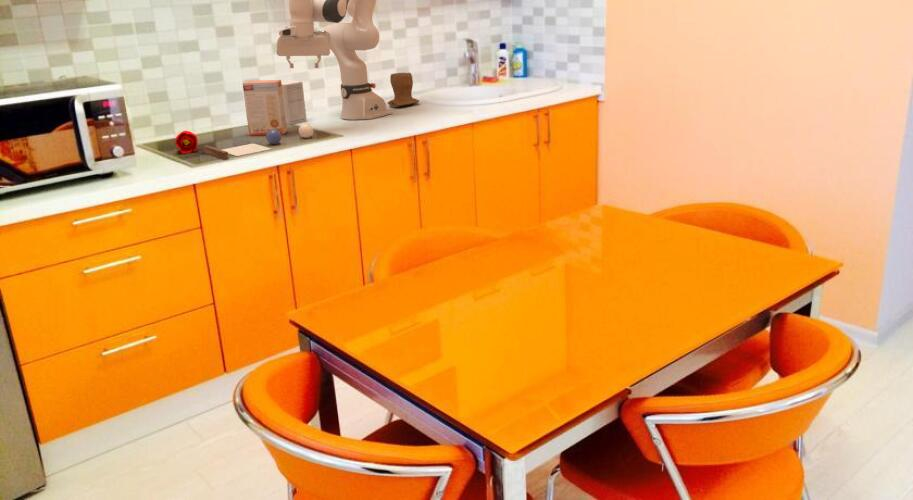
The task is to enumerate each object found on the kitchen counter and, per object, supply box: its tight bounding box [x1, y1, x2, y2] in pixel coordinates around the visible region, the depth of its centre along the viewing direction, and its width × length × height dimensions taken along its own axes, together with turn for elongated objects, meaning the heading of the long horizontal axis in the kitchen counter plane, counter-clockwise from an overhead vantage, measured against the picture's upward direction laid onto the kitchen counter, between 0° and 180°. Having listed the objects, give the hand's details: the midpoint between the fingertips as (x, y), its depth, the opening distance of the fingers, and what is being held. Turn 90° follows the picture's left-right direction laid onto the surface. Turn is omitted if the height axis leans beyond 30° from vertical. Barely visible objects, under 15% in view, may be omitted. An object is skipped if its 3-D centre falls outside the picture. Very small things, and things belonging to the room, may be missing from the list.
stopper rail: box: [203, 145, 230, 161], centre depth 291 cm, size 2×16×2 cm, turn 41°
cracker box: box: [242, 79, 288, 136], centre depth 320 cm, size 14×6×21 cm, turn 84°
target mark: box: [221, 143, 272, 157], centre depth 298 cm, size 14×14×1 cm
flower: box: [174, 130, 198, 154], centre depth 299 cm, size 8×8×8 cm
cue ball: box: [298, 123, 314, 139], centre depth 313 cm, size 6×6×6 cm
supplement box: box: [281, 79, 307, 126], centre depth 342 cm, size 10×9×17 cm
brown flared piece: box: [387, 72, 420, 109], centre depth 370 cm, size 15×12×15 cm
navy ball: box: [265, 130, 282, 145], centre depth 304 cm, size 6×6×6 cm
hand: (304, 68), depth 314 cm, fingers open, 8 cm apart
